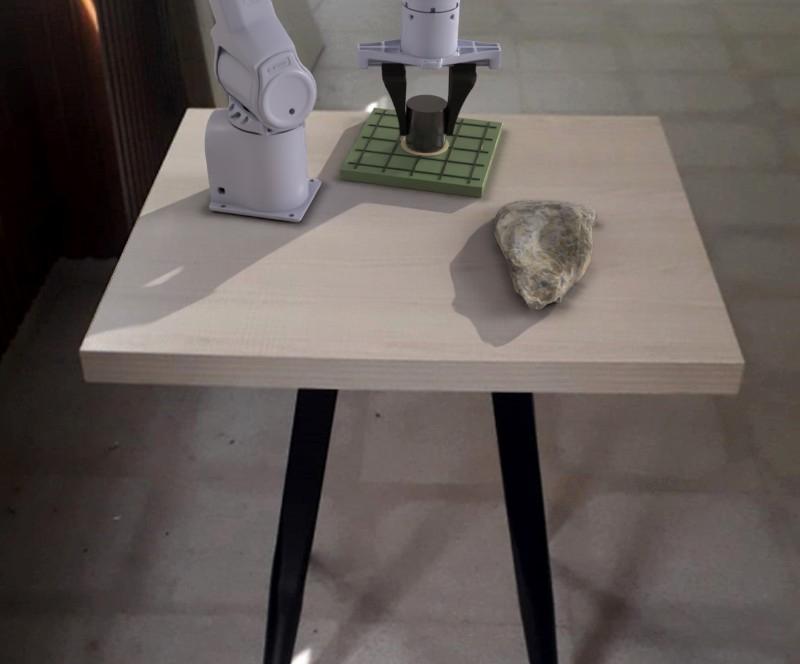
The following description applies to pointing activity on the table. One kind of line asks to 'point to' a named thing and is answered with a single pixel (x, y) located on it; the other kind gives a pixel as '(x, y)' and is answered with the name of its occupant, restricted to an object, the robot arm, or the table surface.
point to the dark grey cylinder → (426, 123)
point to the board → (423, 157)
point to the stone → (545, 247)
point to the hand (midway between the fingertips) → (425, 131)
